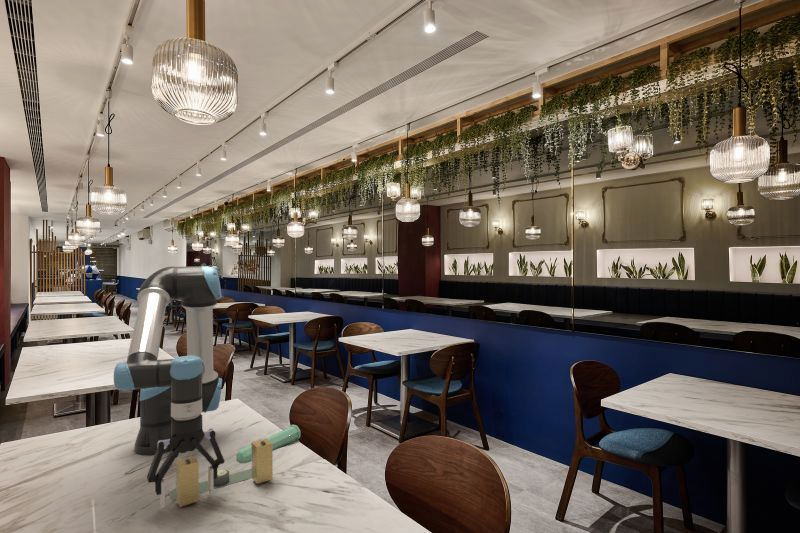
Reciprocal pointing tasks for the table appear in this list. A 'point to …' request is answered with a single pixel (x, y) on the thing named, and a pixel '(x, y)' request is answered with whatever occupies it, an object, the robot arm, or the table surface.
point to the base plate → (232, 480)
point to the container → (276, 440)
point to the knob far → (262, 461)
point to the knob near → (187, 481)
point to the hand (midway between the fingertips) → (187, 498)
